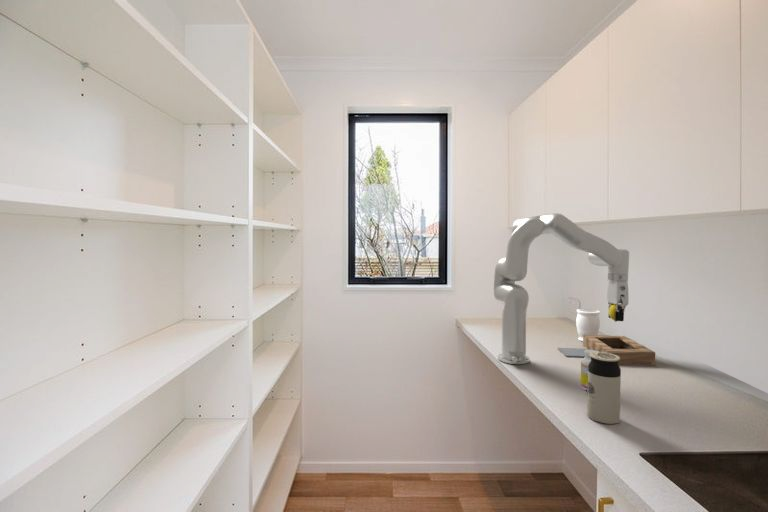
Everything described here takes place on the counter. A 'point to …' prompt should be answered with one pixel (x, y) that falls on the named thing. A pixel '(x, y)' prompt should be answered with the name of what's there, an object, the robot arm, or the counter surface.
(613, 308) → the lemon
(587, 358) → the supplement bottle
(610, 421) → the travel mug
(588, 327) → the jar
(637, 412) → the counter surface
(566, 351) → the grey mat
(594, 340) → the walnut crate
